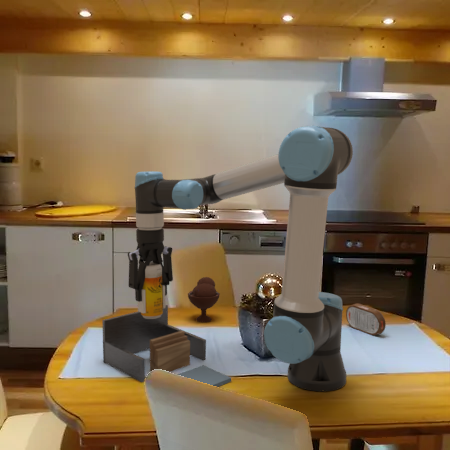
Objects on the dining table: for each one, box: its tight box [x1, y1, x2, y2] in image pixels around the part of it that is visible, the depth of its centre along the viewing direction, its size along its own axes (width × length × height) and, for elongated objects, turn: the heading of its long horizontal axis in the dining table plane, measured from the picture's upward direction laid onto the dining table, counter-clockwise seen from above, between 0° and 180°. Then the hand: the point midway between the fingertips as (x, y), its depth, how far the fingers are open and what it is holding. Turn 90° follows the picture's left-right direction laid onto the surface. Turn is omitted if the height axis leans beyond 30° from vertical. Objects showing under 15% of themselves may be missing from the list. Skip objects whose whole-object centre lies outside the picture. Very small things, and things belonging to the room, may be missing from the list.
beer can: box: [141, 262, 163, 319], centre depth 150 cm, size 6×6×15 cm
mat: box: [177, 364, 232, 388], centre depth 139 cm, size 11×11×1 cm
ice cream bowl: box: [187, 276, 221, 323], centre depth 187 cm, size 11×11×15 cm
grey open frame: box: [102, 304, 207, 383], centre depth 151 cm, size 18×22×12 cm
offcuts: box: [149, 330, 191, 373], centre depth 147 cm, size 4×11×9 cm, turn 134°
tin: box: [345, 303, 387, 336], centre depth 178 cm, size 15×3×8 cm, turn 34°
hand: (151, 309), depth 151 cm, fingers closed on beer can, 6 cm apart
